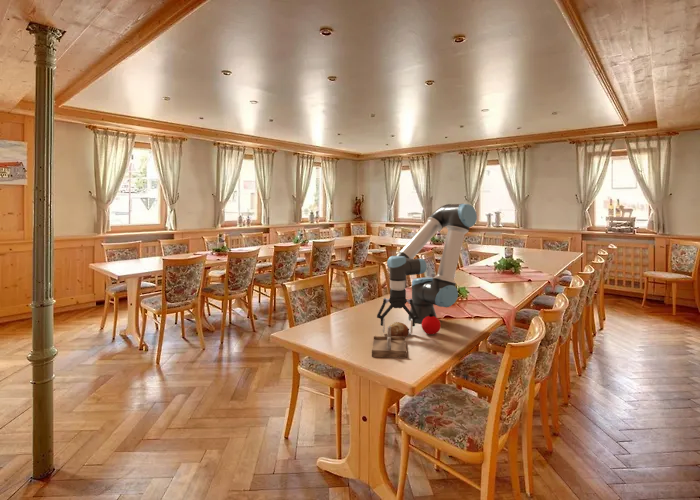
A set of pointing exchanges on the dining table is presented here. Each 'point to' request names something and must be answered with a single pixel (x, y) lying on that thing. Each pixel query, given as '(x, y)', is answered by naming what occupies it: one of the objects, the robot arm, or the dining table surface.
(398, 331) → the bread roll
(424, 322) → the ornament
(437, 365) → the dining table surface
